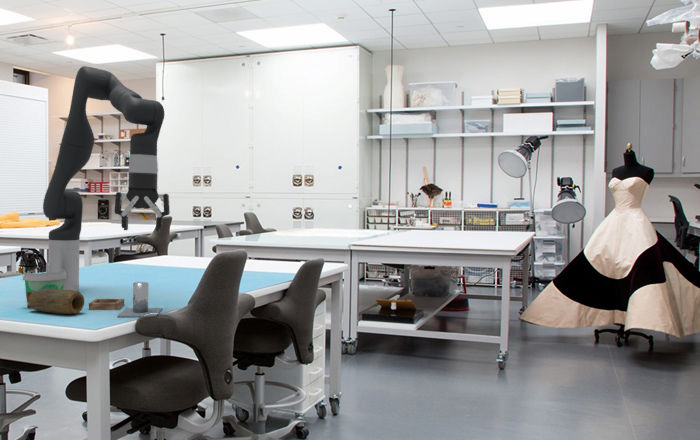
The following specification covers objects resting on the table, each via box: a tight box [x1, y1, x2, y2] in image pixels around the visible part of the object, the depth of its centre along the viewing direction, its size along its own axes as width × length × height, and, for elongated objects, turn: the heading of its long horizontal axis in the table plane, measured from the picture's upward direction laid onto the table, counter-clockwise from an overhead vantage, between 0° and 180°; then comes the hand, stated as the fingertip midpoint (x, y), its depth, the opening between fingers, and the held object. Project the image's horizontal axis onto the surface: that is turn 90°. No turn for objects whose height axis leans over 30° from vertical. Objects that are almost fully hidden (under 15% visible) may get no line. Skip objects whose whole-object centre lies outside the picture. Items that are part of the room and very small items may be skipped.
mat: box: [116, 307, 163, 318], centre depth 170 cm, size 10×12×1 cm
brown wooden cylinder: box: [28, 289, 85, 315], centre depth 167 cm, size 15×7×7 cm, turn 75°
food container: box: [22, 269, 67, 309], centre depth 175 cm, size 12×6×10 cm, turn 148°
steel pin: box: [132, 281, 149, 313], centre depth 170 cm, size 4×4×8 cm
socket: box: [88, 298, 125, 311], centre depth 177 cm, size 8×8×2 cm
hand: (142, 230), depth 169 cm, fingers open, 8 cm apart
